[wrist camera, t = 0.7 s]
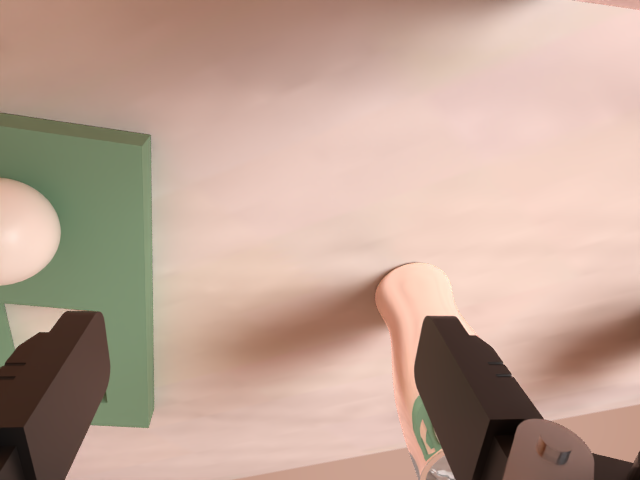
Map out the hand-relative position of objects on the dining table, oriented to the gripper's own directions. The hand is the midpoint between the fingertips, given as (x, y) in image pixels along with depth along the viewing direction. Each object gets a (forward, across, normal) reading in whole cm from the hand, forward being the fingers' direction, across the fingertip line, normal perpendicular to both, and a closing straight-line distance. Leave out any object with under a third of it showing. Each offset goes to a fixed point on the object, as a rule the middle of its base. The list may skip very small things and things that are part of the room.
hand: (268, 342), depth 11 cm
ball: (+15, +15, +4) cm, 22 cm away
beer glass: (+21, -12, +11) cm, 26 cm away
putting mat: (+21, +16, +11) cm, 29 cm away
